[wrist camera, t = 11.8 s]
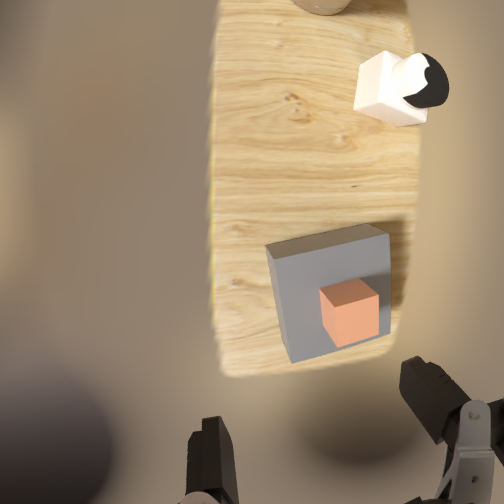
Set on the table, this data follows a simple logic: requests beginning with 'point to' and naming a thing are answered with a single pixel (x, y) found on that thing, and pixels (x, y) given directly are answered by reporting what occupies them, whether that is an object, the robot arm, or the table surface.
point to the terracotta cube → (350, 311)
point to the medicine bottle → (400, 88)
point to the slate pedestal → (326, 283)
